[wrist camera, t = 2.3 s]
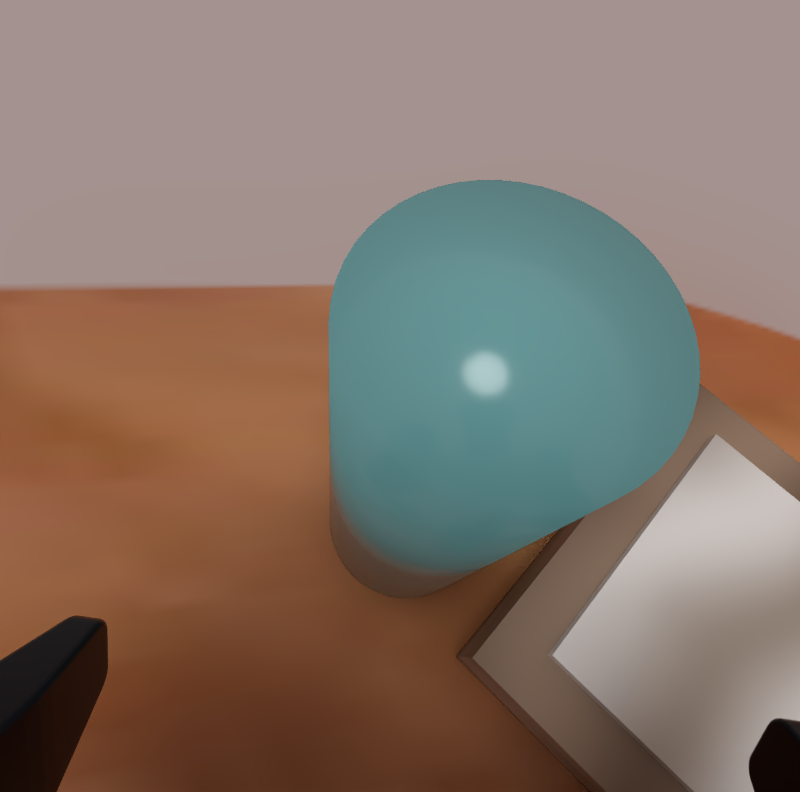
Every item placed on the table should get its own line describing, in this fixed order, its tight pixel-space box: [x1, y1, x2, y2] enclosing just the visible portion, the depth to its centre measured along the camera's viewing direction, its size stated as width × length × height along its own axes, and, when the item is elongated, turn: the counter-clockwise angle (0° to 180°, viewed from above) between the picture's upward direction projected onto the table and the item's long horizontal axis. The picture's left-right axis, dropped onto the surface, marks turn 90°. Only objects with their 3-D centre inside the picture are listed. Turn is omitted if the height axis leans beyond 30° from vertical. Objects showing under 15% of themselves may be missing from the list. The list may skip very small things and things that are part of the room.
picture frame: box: [456, 383, 800, 792], centre depth 18 cm, size 12×12×3 cm
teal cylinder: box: [329, 180, 700, 598], centre depth 14 cm, size 5×5×13 cm
